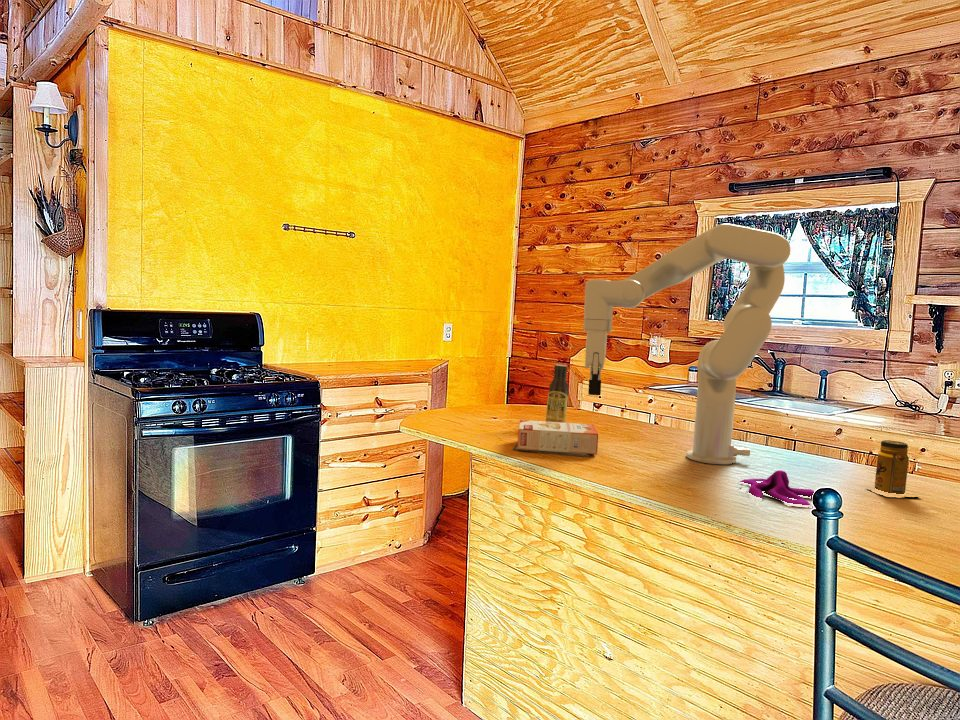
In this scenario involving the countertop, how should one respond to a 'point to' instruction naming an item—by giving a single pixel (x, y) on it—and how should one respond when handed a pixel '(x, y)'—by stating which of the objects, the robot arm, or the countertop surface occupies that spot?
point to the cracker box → (557, 437)
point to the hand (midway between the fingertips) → (594, 394)
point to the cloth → (778, 488)
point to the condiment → (892, 467)
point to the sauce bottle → (558, 396)
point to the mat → (552, 452)
